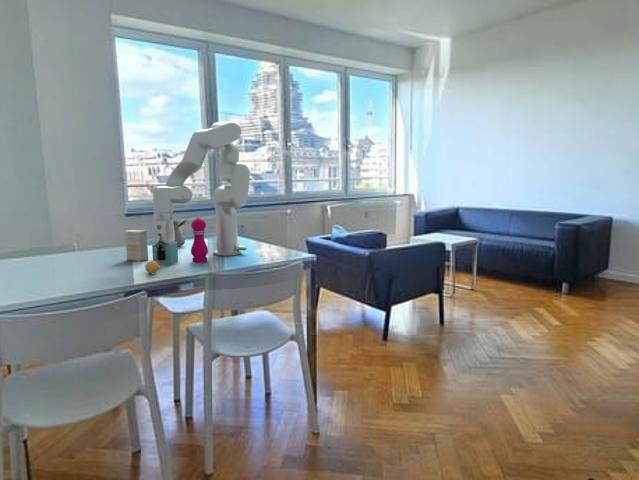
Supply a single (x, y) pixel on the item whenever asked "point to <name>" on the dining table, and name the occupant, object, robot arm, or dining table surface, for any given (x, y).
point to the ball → (152, 267)
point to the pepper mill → (199, 241)
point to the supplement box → (136, 245)
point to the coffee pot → (178, 233)
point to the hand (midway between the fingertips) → (165, 257)
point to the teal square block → (167, 254)
